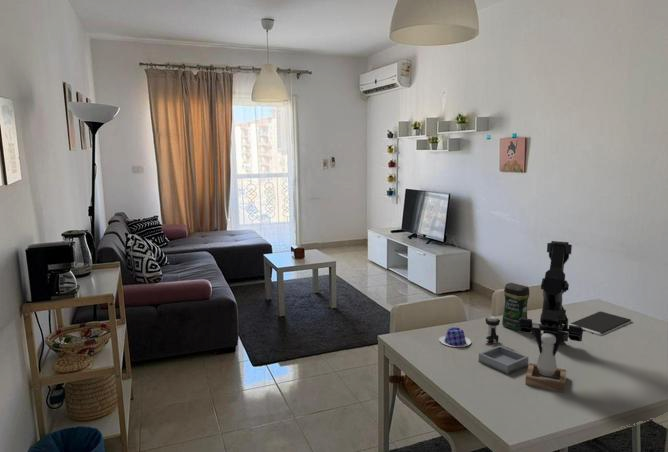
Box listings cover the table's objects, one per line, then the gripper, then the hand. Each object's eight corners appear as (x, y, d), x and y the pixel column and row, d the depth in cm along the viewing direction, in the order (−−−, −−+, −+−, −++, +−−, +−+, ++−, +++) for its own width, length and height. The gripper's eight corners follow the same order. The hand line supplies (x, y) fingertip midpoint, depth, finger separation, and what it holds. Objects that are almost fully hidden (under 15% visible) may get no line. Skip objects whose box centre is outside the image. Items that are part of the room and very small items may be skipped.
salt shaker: (533, 369, 150) (535, 331, 148) (549, 368, 150) (552, 330, 148) (542, 378, 144) (544, 338, 142) (559, 377, 144) (562, 338, 142)
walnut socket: (529, 369, 155) (529, 362, 154) (565, 377, 150) (566, 369, 149) (525, 384, 145) (525, 376, 145) (564, 392, 140) (564, 384, 140)
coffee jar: (498, 326, 194) (500, 283, 191) (508, 321, 199) (511, 280, 196) (520, 332, 187) (523, 288, 184) (530, 328, 192) (532, 285, 189)
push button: (490, 346, 173) (491, 321, 172) (479, 342, 178) (480, 317, 176) (501, 342, 177) (503, 318, 175) (490, 338, 181) (491, 314, 180)
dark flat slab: (567, 327, 194) (567, 323, 193) (599, 314, 209) (600, 310, 208) (600, 337, 183) (600, 333, 182) (631, 322, 198) (632, 318, 197)
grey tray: (499, 353, 168) (499, 345, 167) (527, 365, 158) (528, 356, 158) (478, 361, 161) (478, 353, 161) (507, 374, 152) (507, 365, 151)
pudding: (459, 334, 186) (459, 322, 185) (477, 346, 175) (478, 333, 174) (433, 338, 182) (433, 326, 181) (450, 350, 171) (451, 337, 170)
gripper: (520, 294, 151) (514, 338, 143) (584, 302, 142) (581, 349, 134) (522, 309, 159) (516, 352, 151) (583, 318, 150) (580, 363, 143)
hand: (547, 354), depth 145 cm, fingers closed on salt shaker, 3 cm apart
